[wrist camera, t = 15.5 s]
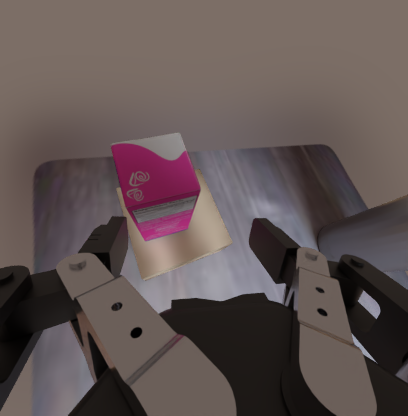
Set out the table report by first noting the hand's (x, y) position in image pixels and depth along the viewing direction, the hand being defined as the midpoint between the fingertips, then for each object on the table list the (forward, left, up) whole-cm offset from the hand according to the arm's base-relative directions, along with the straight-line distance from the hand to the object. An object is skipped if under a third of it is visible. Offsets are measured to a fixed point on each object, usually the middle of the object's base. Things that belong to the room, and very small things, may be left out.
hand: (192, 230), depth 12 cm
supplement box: (+2, -5, -12) cm, 14 cm away
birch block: (0, -6, -18) cm, 19 cm away
